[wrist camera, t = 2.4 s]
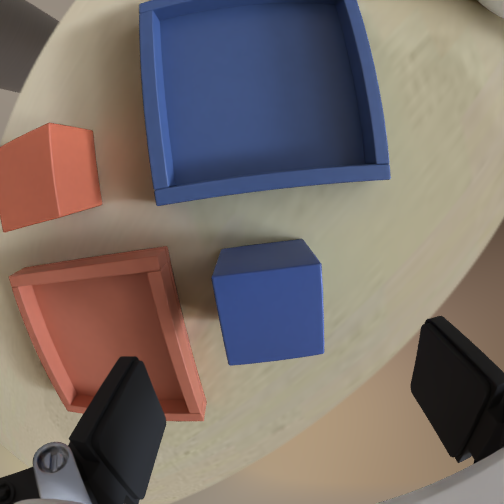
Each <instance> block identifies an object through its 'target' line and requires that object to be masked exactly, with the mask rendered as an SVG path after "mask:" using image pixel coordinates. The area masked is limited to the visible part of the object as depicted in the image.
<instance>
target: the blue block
mask: <svg viewBox="0 0 504 504" xmlns="http://www.w3.org/2000/svg"><path fill="white" fill-rule="evenodd" d="M211 279H212V284H213V289H214V295H215V300H216V305H217V311H218V316H219V321H220V326H221V331H222V336H223V341H224V346H225V350H226V355H227V360H228V364H229V365H241V364H252V363H261V362H270V361H278V360H285V359H293V358H300V357H306V356H313V355H319V354H323V353H324V312H323V286H322V266H321V263H320V262H319V260H318V259H317V258H316V256H315V255H314V254H313V252H312V251H311V250H310V248H309V247H308V246H307V244H306V243H305V242H304V240H303V239H297V240H288V241H280V242H272V243H264V244H256V245H248V246H240V247H232V248H225V249H221V252H220V254H219V257H218V260H217V263H216V266H215V269H214V272H213V275H212V278H211Z"/></svg>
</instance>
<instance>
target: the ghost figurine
mask: <svg viewBox="0 0 504 504" xmlns="http://www.w3.org/2000/svg"><path fill="white" fill-rule="evenodd" d="M477 1H479V2H480V3H481V4H482V5H483V6H484V7H486V8H487V9H488V10H490V11H491V12H493V13H494V14H496V15H498V16H499V17H501V18H504V0H477Z"/></svg>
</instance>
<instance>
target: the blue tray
mask: <svg viewBox="0 0 504 504" xmlns="http://www.w3.org/2000/svg"><path fill="white" fill-rule="evenodd" d="M139 36H140V63H141V80H142V94H143V106H144V117H145V126H146V136H147V144H148V152H149V160H150V167H151V175H152V181H153V188H154V190H155V191H154V194H155V200H156V205H157V206H162V205H168V204H174V203H180V202H186V201H192V200H199V199H205V198H212V197H219V196H226V195H233V194H241V193H249V192H257V191H265V190H273V189H282V188H291V187H301V186H311V185H322V184H333V183H345V182H359V181H374V180H389V179H390V178H391V176H390V165H389V153H388V144H387V136H386V129H385V121H384V115H383V108H382V102H381V97H380V91H379V86H378V81H377V76H376V71H375V66H374V62H373V58H372V53H371V49H370V45H369V41H368V37H367V34H366V30H365V26H364V23H363V19H362V16H361V13H360V10H359V6H358V3H357V0H151V1H148V2H144V3H141V4H139Z"/></svg>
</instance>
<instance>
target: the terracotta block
mask: <svg viewBox="0 0 504 504" xmlns="http://www.w3.org/2000/svg"><path fill="white" fill-rule="evenodd" d="M100 205H102V199H101V192H100V186H99V179H98V172H97V164H96V156H95V147H94V137H93V131H92V130H87V129H81V128H76V127H71V126H65V125H59V124H53V123H47V124H45V125H43V126H41V127H39V128H36V129H34V130H32V131H30V132H28V133H26V134H24V135H22V136H20V137H18V138H16V139H14V140H12V141H10V142H8V143H7V144H5V145H3V146H1V147H0V217H1V223H2V228H3V232H9V231H12V230H15V229H19V228H22V227H26V226H30V225H33V224H37V223H41V222H45V221H48V220H52V219H56V218H60V217H63V216H66V215H70V214H73V213H76V212H79V211H83V210H86V209H90V208H93V207H96V206H100Z"/></svg>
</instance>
